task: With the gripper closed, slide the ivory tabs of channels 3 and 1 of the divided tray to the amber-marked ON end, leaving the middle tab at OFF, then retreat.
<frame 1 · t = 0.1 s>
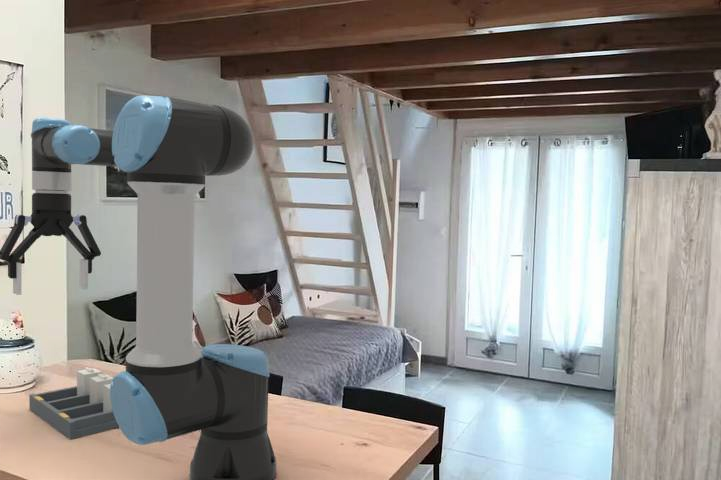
hand: (51, 291, 132), 28 cm above the table, fingers open, 13 cm apart
tab 2: (102, 389, 139), point 5 cm above the table, slide at 0.0 cm
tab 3: (89, 382, 143), point 5 cm above the table, slide at 0.0 cm
divided tray: (84, 415, 136), on the table
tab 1: (116, 397, 134), point 5 cm above the table, slide at 0.0 cm
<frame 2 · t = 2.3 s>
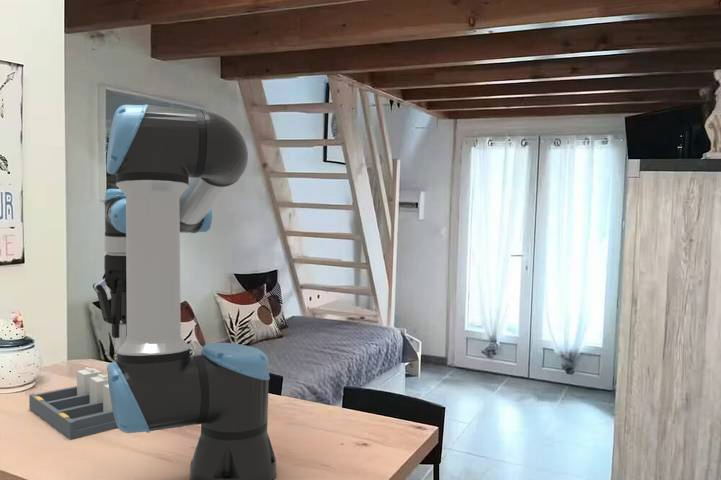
hand: (120, 350, 149), 11 cm above the table, fingers closed
nothing on the table moved.
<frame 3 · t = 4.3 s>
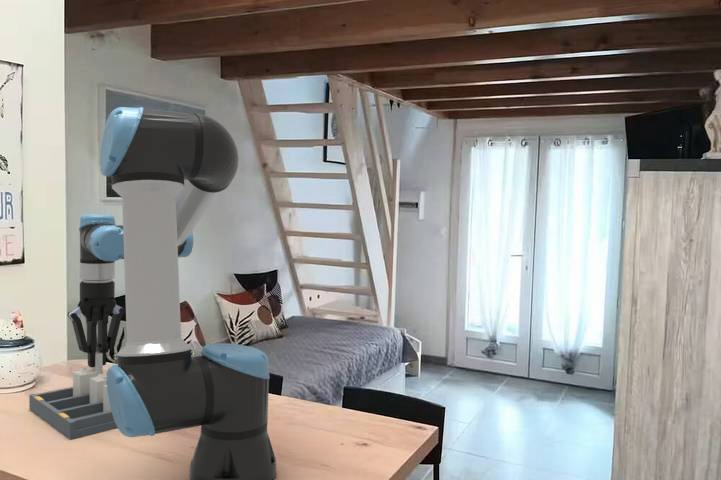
hand: (96, 379, 145), 5 cm above the table, fingers closed
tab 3: (85, 383, 143), point 5 cm above the table, slide at 1.0 cm, touching gripper
everything else where it was.
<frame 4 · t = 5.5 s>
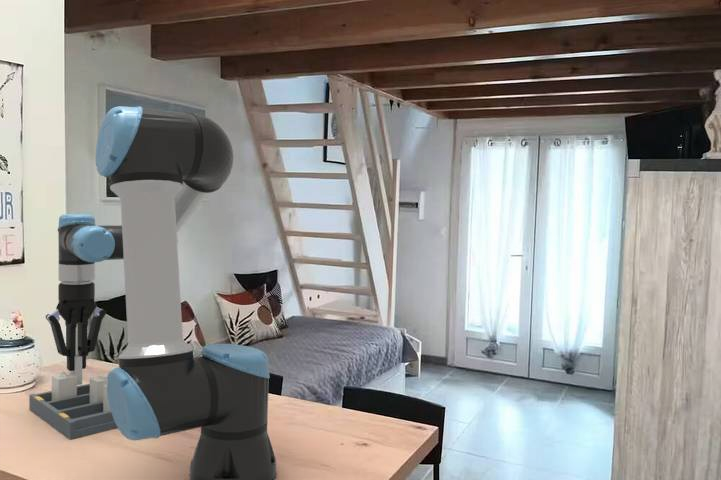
hand: (76, 383, 141), 5 cm above the table, fingers closed
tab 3: (64, 387, 139), point 5 cm above the table, slide at 5.6 cm, touching gripper
everything else where it was.
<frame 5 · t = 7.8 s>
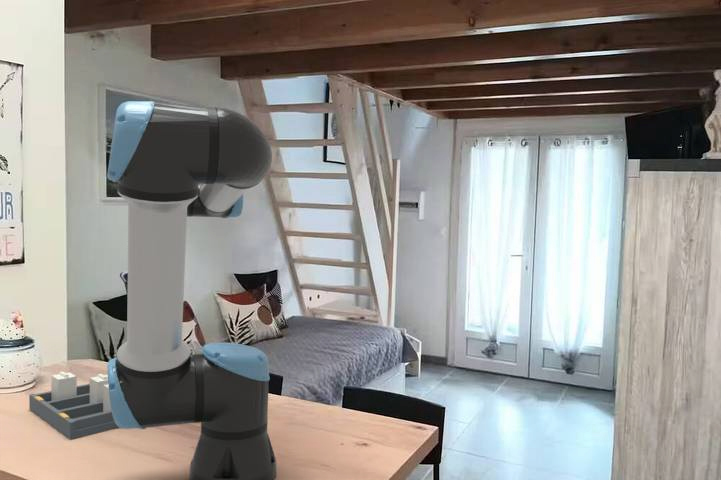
hand: (148, 344, 139), 16 cm above the table, fingers closed
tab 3: (64, 387, 139), point 5 cm above the table, slide at 5.7 cm
everything else where it was.
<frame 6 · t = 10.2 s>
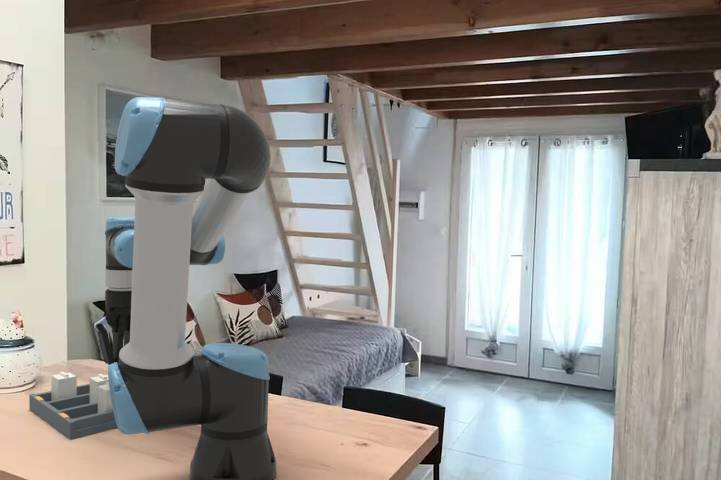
hand: (123, 394, 135), 5 cm above the table, fingers closed
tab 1: (110, 398, 133), point 5 cm above the table, slide at 1.2 cm, touching gripper
everything else where it was.
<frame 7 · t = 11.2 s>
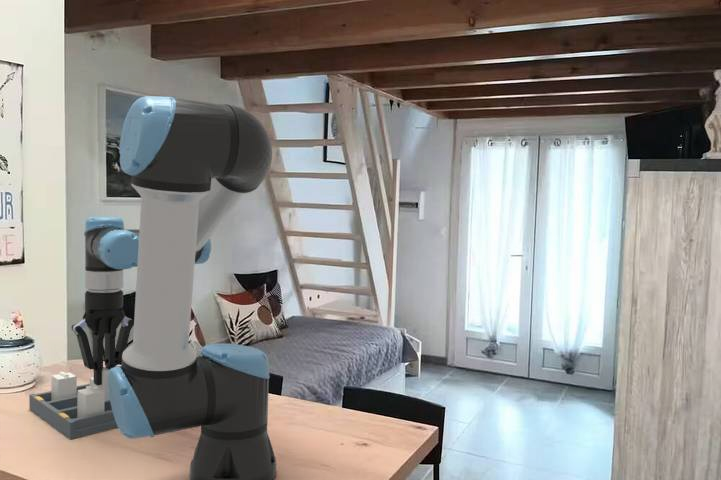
hand: (103, 398, 132), 5 cm above the table, fingers closed
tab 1: (90, 403, 130), point 5 cm above the table, slide at 5.5 cm, touching gripper
everything else where it was.
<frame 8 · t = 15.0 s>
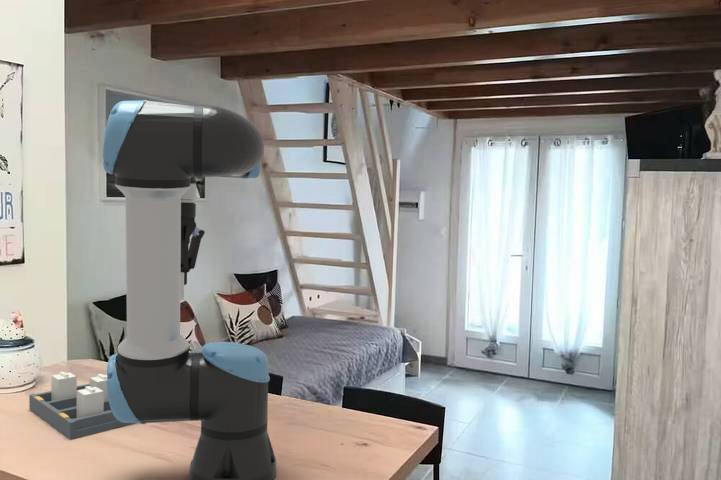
hand: (178, 298, 149), 24 cm above the table, fingers closed
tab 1: (90, 403, 130), point 5 cm above the table, slide at 5.7 cm
everything else where it was.
at the end: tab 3 slide at 5.7 cm; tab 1 slide at 5.7 cm; tab 2 slide at 0.0 cm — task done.
